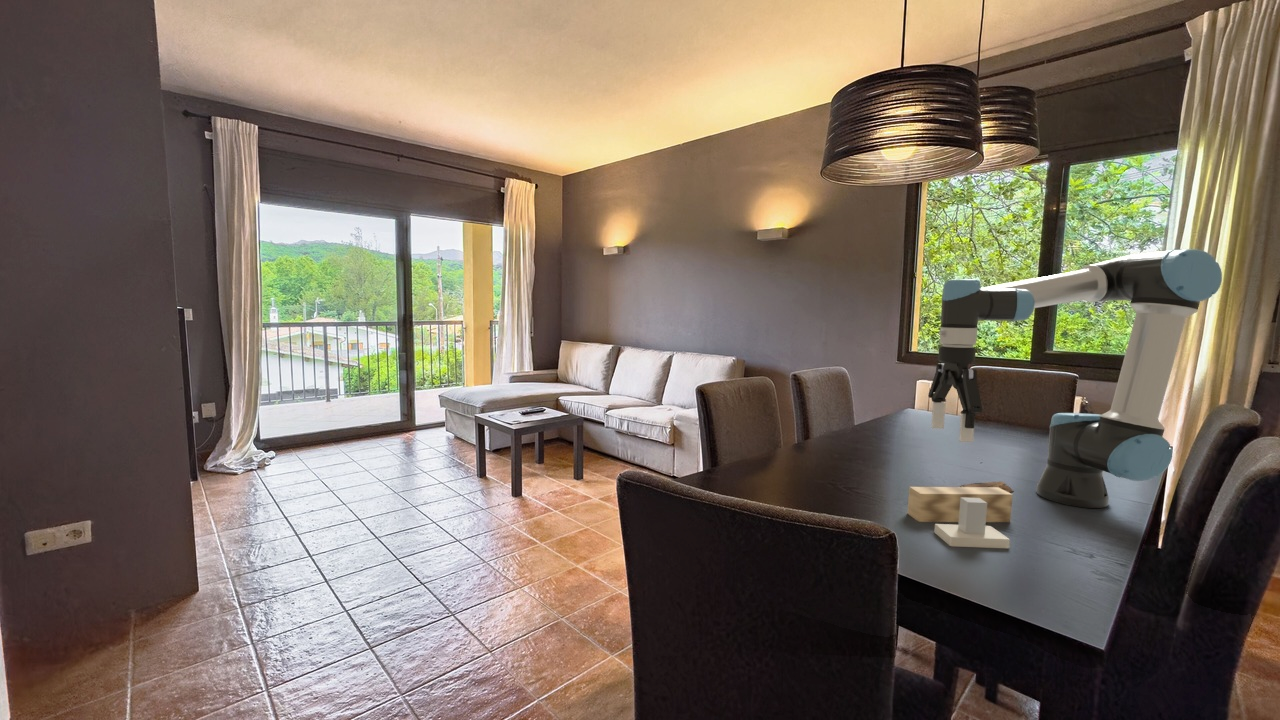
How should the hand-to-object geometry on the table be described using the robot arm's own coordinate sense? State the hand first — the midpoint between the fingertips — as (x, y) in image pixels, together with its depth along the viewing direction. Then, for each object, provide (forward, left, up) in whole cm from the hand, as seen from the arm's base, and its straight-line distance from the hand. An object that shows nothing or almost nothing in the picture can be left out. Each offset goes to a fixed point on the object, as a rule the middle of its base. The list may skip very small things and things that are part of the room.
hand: (951, 434), depth 130 cm
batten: (-3, +1, -20) cm, 20 cm away
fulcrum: (+1, +14, -20) cm, 24 cm away
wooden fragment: (-21, -20, -21) cm, 35 cm away
